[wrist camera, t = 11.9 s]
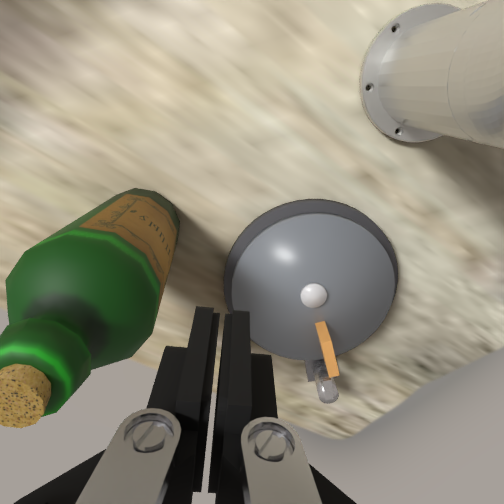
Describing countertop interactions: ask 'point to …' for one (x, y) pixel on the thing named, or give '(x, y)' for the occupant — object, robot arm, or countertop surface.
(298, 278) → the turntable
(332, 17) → the countertop surface
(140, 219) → the bottle
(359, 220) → the turntable base
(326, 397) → the capsule on square base
